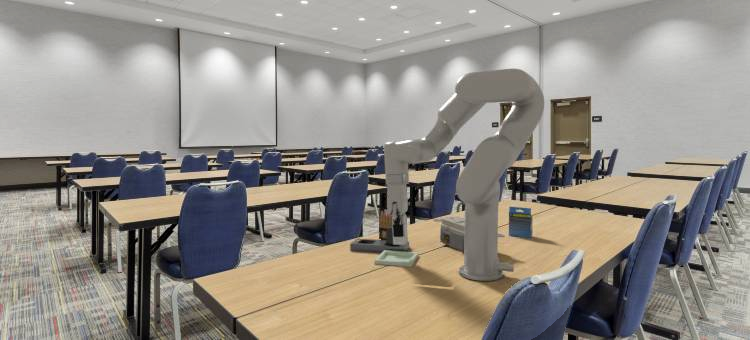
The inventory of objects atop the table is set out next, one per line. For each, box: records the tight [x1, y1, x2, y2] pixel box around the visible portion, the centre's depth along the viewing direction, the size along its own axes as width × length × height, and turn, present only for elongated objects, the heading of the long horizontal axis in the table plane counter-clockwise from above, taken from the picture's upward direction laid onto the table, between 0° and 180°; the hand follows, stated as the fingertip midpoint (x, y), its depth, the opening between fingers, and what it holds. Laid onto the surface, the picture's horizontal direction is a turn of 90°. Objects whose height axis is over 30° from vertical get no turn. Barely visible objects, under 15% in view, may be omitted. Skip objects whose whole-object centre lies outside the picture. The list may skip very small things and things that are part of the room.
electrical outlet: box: [433, 215, 506, 252], centre depth 149 cm, size 12×28×10 cm, turn 33°
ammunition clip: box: [378, 210, 392, 240], centre depth 161 cm, size 11×2×12 cm, turn 40°
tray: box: [373, 250, 419, 268], centre depth 134 cm, size 12×12×2 cm
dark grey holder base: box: [349, 226, 410, 254], centre depth 151 cm, size 20×15×9 cm
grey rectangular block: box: [392, 212, 409, 245], centre depth 133 cm, size 4×4×10 cm
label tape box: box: [508, 206, 533, 239], centre depth 167 cm, size 9×4×12 cm, turn 58°
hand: (400, 234), depth 133 cm, fingers closed on grey rectangular block, 4 cm apart
